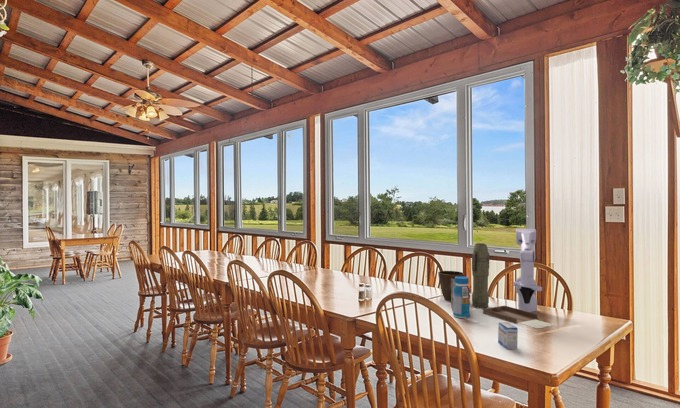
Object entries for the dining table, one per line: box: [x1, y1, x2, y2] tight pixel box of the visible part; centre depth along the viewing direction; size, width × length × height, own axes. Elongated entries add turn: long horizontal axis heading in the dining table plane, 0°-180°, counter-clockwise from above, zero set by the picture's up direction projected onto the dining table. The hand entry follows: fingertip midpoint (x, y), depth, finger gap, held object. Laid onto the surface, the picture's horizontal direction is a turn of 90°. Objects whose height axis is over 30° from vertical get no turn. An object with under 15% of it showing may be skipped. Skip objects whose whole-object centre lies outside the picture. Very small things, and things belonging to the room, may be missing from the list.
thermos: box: [471, 242, 490, 310], centre depth 233 cm, size 9×12×35 cm
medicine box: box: [497, 321, 519, 350], centre depth 170 cm, size 8×4×9 cm, turn 5°
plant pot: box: [438, 270, 465, 302], centre depth 249 cm, size 15×15×16 cm
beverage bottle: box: [452, 275, 471, 319], centre depth 213 cm, size 8×8×20 cm
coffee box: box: [450, 279, 456, 312], centre depth 226 cm, size 9×6×16 cm
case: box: [482, 305, 539, 324], centre depth 211 cm, size 16×20×3 cm
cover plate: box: [519, 319, 554, 330], centre depth 198 cm, size 12×10×2 cm
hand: (526, 303), depth 202 cm, fingers closed
